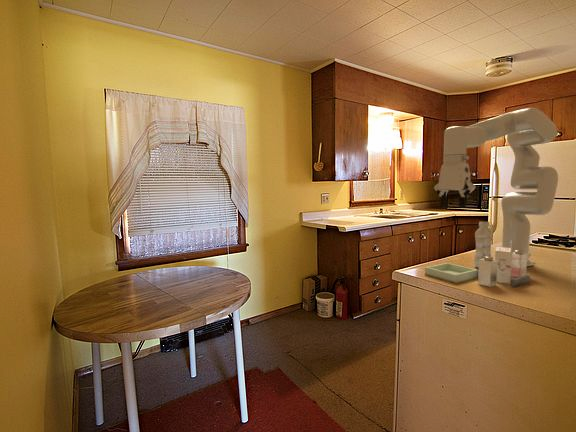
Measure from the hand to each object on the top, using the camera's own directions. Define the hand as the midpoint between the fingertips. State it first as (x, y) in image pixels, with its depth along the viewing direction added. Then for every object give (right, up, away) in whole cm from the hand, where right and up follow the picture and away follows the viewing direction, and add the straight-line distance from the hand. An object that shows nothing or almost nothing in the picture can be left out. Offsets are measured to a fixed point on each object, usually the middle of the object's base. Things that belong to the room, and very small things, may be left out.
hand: (452, 206), depth 114 cm
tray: (+1, -27, +3) cm, 27 cm away
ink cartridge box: (+16, -28, -4) cm, 32 cm away
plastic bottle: (+19, -26, +12) cm, 35 cm away
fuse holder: (+16, -27, -4) cm, 32 cm away
